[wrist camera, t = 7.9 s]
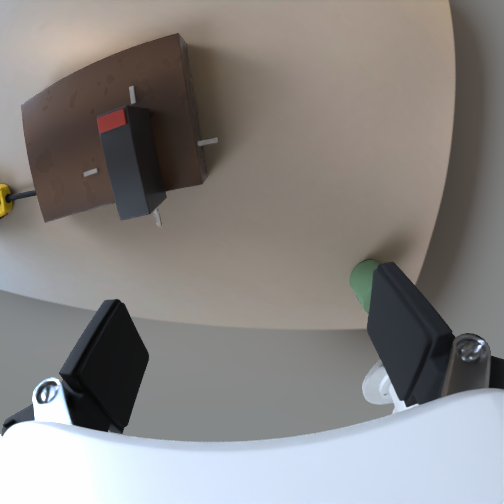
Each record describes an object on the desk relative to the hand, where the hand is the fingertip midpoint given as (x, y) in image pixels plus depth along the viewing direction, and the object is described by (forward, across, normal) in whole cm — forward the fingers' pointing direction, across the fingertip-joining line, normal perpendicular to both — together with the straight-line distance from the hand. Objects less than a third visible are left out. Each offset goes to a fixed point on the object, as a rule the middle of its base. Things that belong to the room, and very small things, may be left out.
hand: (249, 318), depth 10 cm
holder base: (+15, +10, -8) cm, 20 cm away
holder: (+12, +7, -6) cm, 15 cm away
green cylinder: (+15, -11, +9) cm, 21 cm away
